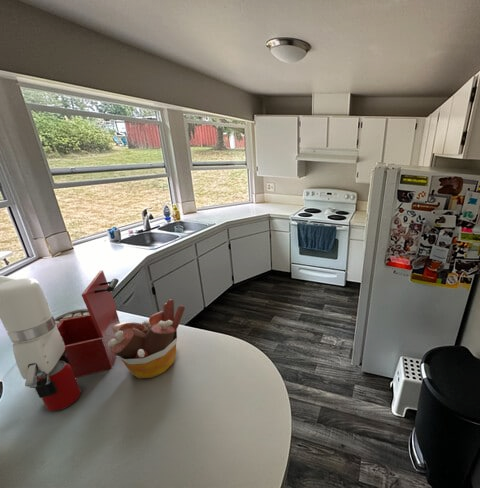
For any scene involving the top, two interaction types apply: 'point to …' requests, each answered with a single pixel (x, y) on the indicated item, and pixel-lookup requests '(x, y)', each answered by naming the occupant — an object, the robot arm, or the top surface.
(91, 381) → the top surface
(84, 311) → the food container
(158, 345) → the bucket of meat
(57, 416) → the top surface
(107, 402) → the top surface
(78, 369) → the red hinged box
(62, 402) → the beverage can
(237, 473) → the top surface
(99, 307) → the lid
